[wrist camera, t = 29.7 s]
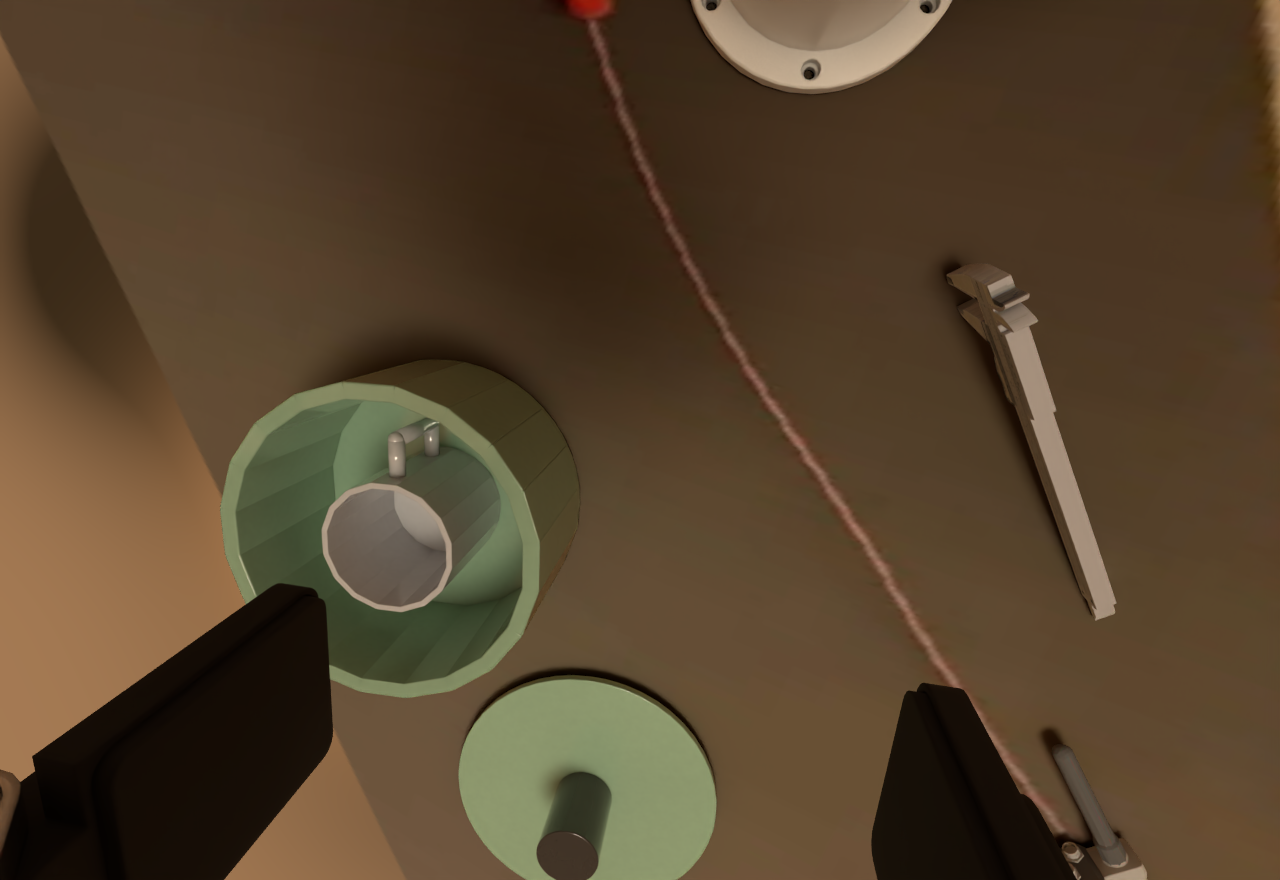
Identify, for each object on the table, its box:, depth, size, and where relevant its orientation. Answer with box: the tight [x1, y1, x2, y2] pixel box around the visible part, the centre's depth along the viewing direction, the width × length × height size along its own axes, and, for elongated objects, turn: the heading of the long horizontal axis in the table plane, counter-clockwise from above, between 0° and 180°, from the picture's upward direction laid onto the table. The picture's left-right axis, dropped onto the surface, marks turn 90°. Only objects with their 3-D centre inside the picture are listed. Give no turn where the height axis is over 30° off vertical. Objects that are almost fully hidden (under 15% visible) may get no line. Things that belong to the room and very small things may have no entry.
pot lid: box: [459, 675, 717, 880], centre depth 39 cm, size 17×17×6 cm
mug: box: [321, 417, 501, 612], centre depth 34 cm, size 9×7×7 cm
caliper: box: [947, 264, 1116, 620], centre depth 31 cm, size 20×1×6 cm, turn 28°
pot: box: [220, 359, 580, 698], centre depth 34 cm, size 16×16×8 cm
